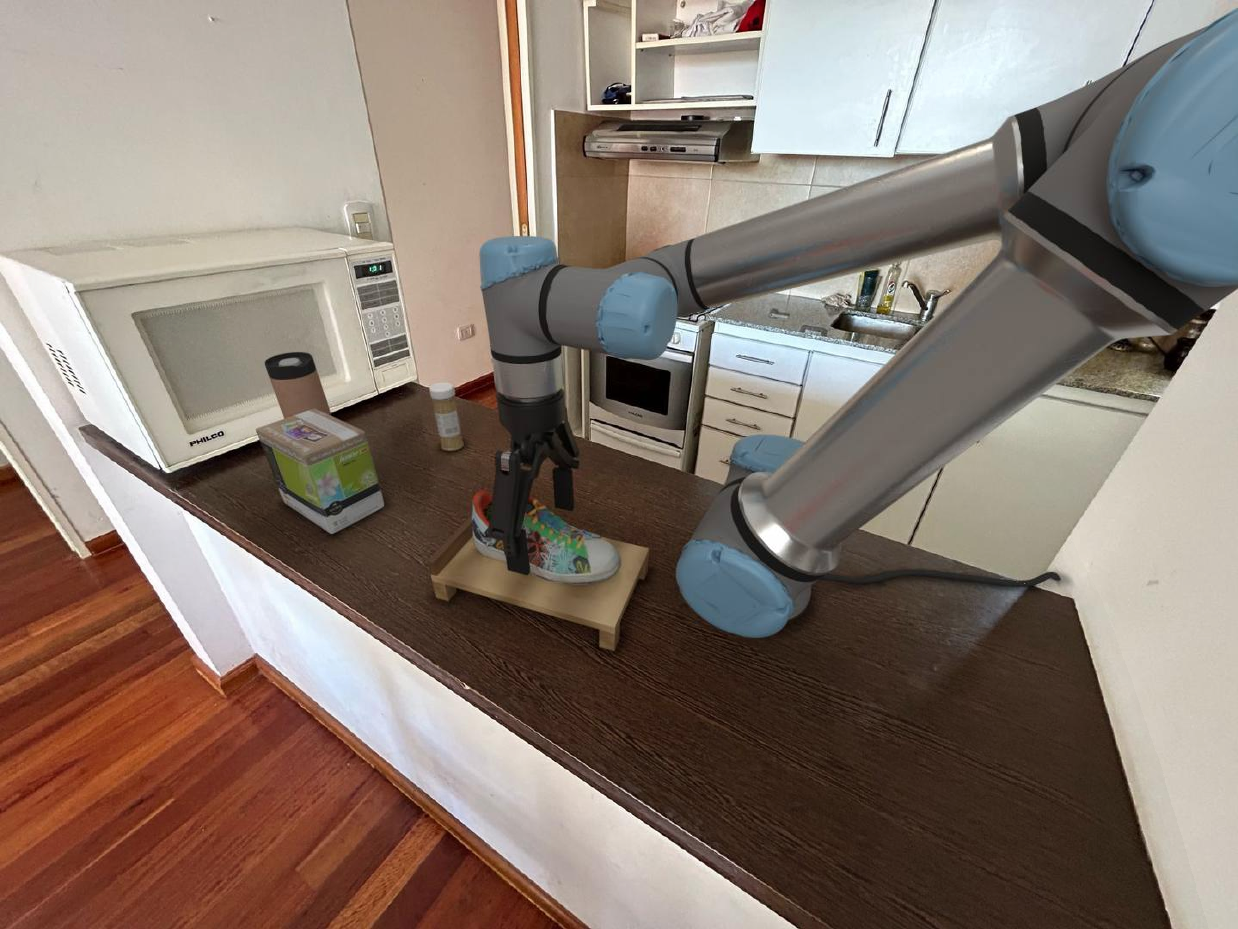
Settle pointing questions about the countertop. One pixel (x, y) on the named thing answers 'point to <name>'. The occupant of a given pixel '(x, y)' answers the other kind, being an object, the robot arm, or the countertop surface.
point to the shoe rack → (539, 584)
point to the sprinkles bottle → (446, 415)
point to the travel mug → (296, 383)
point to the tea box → (322, 468)
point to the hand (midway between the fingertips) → (543, 537)
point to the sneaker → (549, 545)
